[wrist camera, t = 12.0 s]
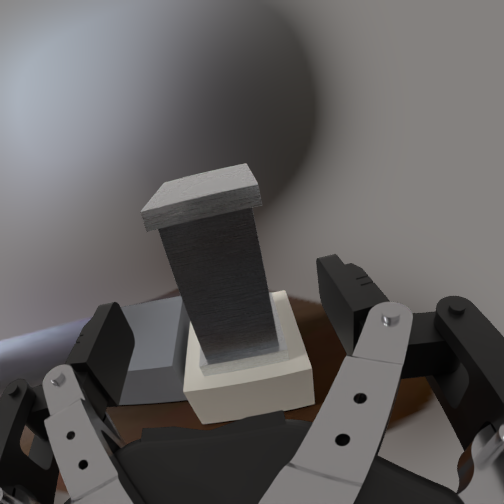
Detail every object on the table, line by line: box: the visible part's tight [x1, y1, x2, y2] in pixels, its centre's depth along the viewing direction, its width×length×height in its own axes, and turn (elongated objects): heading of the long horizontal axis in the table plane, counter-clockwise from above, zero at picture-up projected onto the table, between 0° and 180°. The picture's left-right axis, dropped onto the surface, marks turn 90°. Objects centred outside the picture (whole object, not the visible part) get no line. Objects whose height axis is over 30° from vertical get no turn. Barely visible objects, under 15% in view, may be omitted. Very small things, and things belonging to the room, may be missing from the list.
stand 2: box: [183, 290, 315, 424], centre depth 22 cm, size 8×9×4 cm
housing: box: [140, 163, 289, 376], centre depth 18 cm, size 6×6×11 cm
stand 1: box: [119, 296, 190, 405], centre depth 24 cm, size 8×9×4 cm
